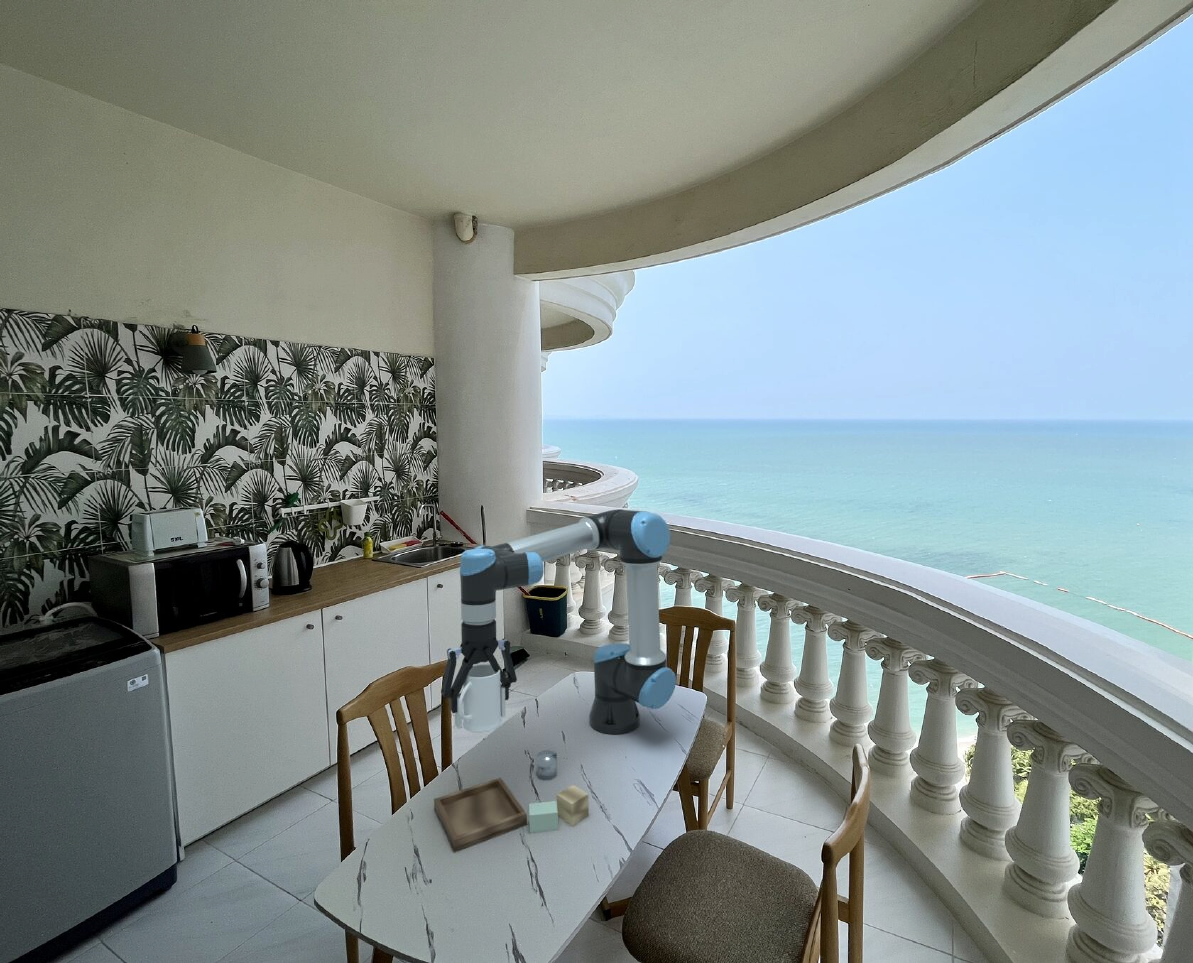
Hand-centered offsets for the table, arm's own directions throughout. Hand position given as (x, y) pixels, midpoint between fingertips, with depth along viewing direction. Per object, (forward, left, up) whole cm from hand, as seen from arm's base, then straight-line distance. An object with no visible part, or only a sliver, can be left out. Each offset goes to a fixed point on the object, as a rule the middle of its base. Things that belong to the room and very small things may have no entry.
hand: (480, 720), depth 123 cm
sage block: (-10, +10, -22) cm, 26 cm away
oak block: (-17, +10, -22) cm, 30 cm away
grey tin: (-19, -7, -22) cm, 30 cm away
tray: (+1, 0, -22) cm, 22 cm away
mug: (+1, 0, -1) cm, 2 cm away
